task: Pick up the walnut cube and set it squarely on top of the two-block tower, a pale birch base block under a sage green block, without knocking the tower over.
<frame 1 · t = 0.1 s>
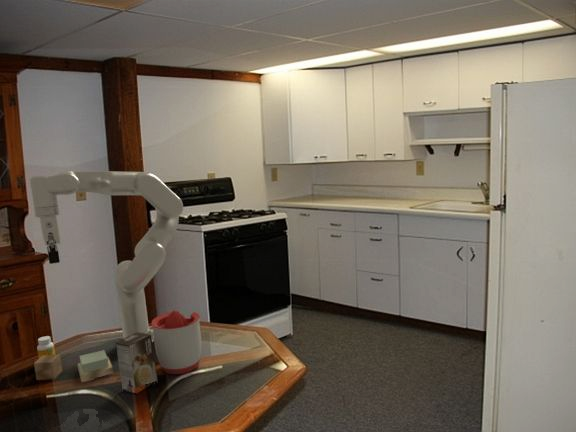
hand: (54, 260, 188), 37 cm above the table, tool pointing down, fingers open, 9 cm apart
birch base block: (96, 373, 182), on the table, touching sage top block
sage top block: (94, 365, 182), point 2 cm above the table, touching birch base block
coffee box: (140, 387, 170), on the table
walnut cube: (49, 375, 183), on the table
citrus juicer: (182, 366, 182), on the table
supplement bottle: (48, 364, 192), on the table
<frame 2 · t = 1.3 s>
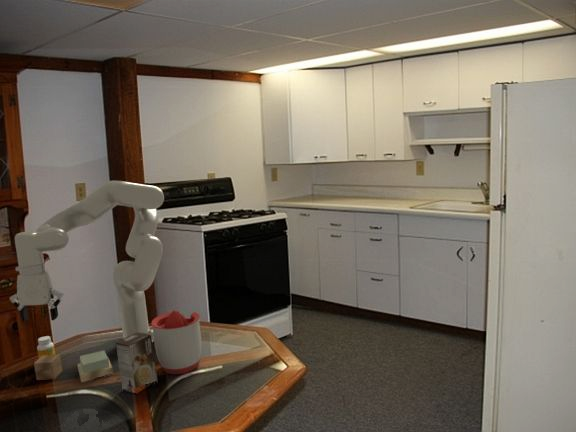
hand: (40, 319, 179), 20 cm above the table, tool pointing down, fingers open, 9 cm apart
nothing on the table moved.
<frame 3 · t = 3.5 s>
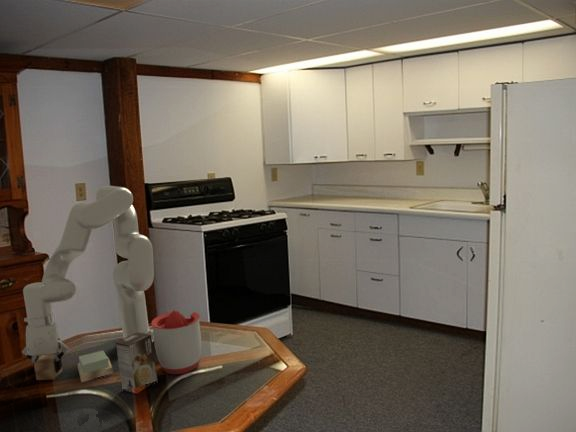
hand: (48, 370, 182), 2 cm above the table, tool pointing down, fingers closed on walnut cube, 6 cm apart
walnut cube: (49, 375, 183), on the table, touching gripper
everything else where it was.
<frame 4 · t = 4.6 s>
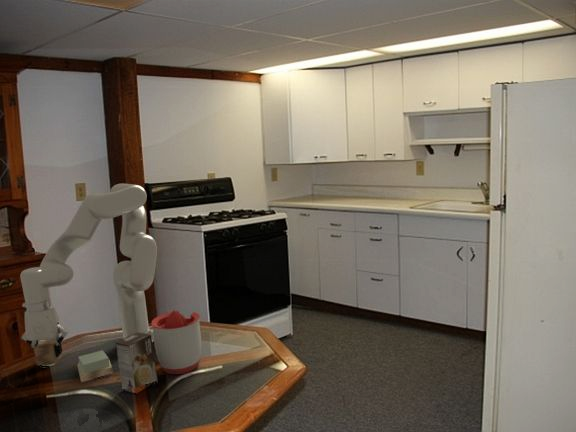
hand: (49, 355, 182), 7 cm above the table, tool pointing down, fingers closed on walnut cube, 6 cm apart
birch base block: (95, 373, 183), on the table
sage top block: (94, 365, 182), point 2 cm above the table
walnut cube: (50, 360, 182), point 5 cm above the table, touching gripper
everything else where it was.
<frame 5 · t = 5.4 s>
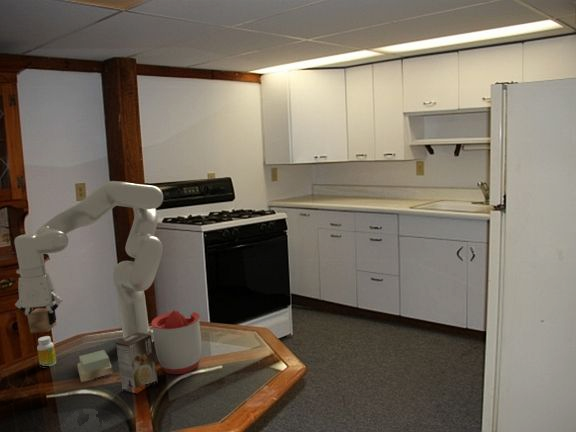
hand: (42, 323, 180), 18 cm above the table, tool pointing down, fingers closed on walnut cube, 6 cm apart
birch base block: (95, 373, 183), on the table, touching sage top block
sage top block: (95, 365, 182), point 2 cm above the table, touching birch base block
walnut cube: (43, 328, 180), point 16 cm above the table, touching gripper
everything else where it was.
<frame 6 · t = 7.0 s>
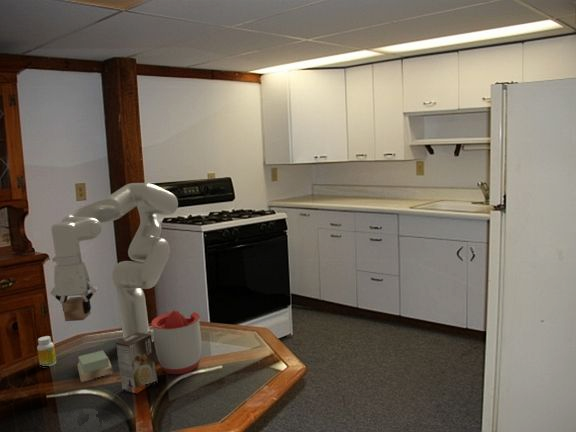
hand: (77, 312, 179), 21 cm above the table, tool pointing down, fingers closed on walnut cube, 6 cm apart
walnut cube: (78, 317, 179), point 20 cm above the table, touching gripper
everything else where it was.
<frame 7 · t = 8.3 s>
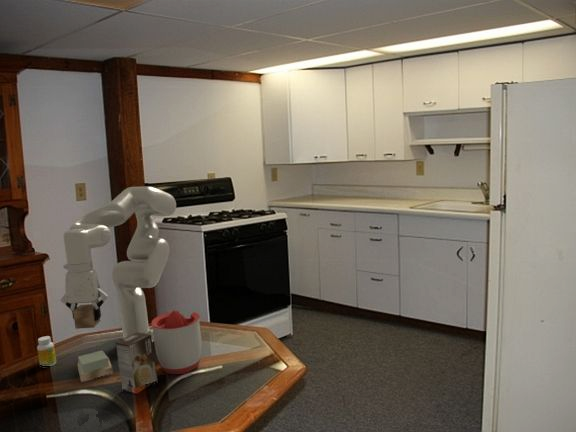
hand: (87, 319, 179), 19 cm above the table, tool pointing down, fingers closed on walnut cube, 6 cm apart
birch base block: (95, 373, 183), on the table
sage top block: (93, 365, 182), point 2 cm above the table
walnut cube: (88, 324, 179), point 17 cm above the table, touching gripper
everything else where it was.
when the fingers open (8 cm above the table, at t = 10.8 s): walnut cube drops 1 cm, resting on sage top block.
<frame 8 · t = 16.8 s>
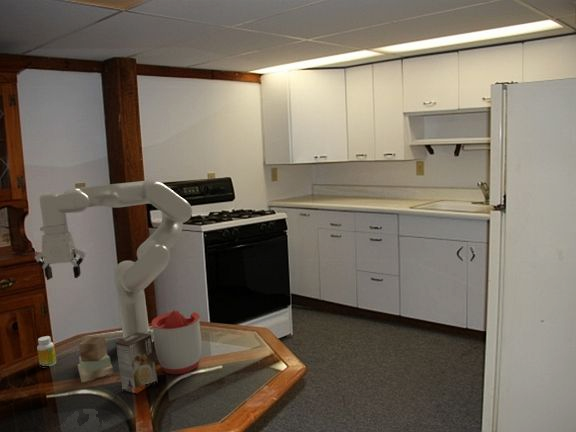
hand: (63, 277, 188), 30 cm above the table, tool pointing down, fingers open, 9 cm apart
birch base block: (96, 374, 182), on the table, touching sage top block
sage top block: (95, 365, 182), point 2 cm above the table, touching birch base block, walnut cube
walnut cube: (94, 357, 181), point 5 cm above the table, touching sage top block
everything else where it was.
at the end: walnut cube 0.3 cm off-centre on the sage top block, point 3.0 cm above the sage top block's base; sage top block moved 0.7 cm from its start; walnut cube tilted 0° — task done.
